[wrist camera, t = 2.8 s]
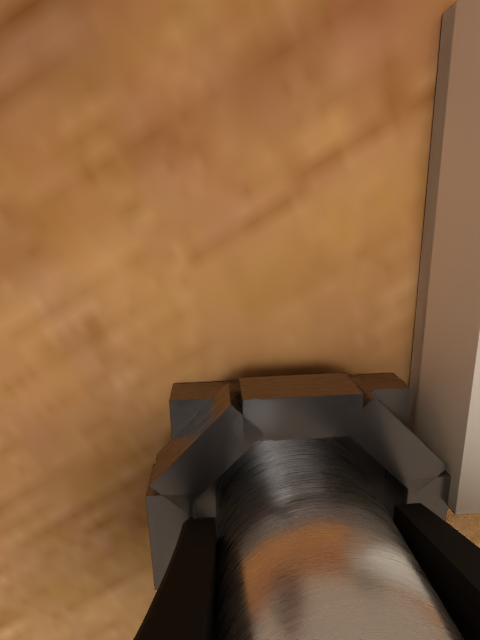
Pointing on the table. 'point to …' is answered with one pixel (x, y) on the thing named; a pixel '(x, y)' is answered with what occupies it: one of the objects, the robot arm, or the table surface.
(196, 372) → the table surface
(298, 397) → the stud mount
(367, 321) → the table surface
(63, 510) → the table surface
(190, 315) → the table surface
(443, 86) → the bin
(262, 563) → the silver cylinder with bar
